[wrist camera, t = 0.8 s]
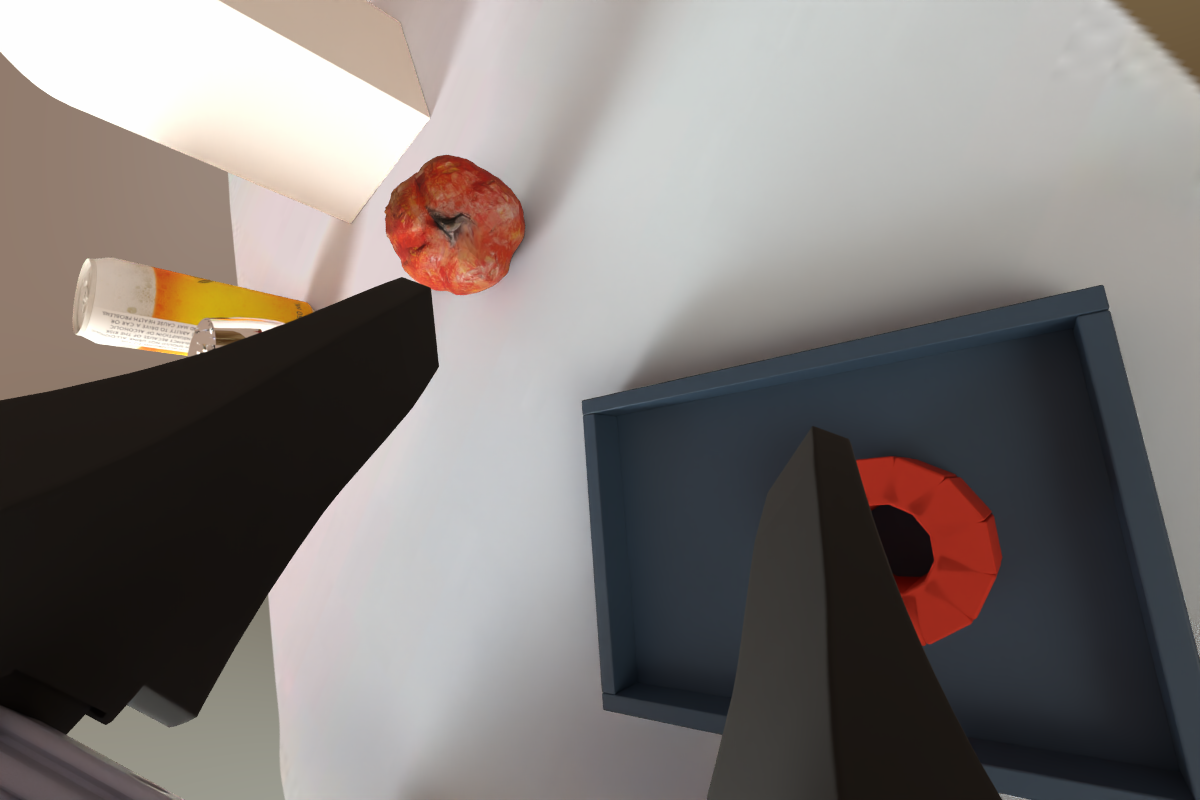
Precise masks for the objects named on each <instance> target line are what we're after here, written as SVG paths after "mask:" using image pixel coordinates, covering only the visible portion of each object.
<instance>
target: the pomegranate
mask: <svg viewBox="0 0 1200 800" xmlns="http://www.w3.org/2000/svg"><path fill="white" fill-rule="evenodd" d="M385 208H386V210H385V213H386V218H385V221H386V234H387V237H388V238H389V239H390V241H391V243H392V245H393V248H394V250H395V252H396V253H397V255H398V256H399V257H400V259H401V263H402V267H403V268H404V270H405V271H406V272H407V273H408V274H409V275H410V276H411V277H412V278H413V279H414V280H416V281H417V282H419V283H420V284H422V285H425V286H428V287H430V288H431V289H433V290H438V291H449V292H452V293H453V294H455V295H468V294H473V293H477V292H480V291H483V290H485V289H487V288H490V287H492V286H493V285H495V284H496V283H498V282H499V281H500V280H501V279H502V278H503V277H504V276H505V275H506V274H507V273H508V270H509V265H510V261H511V258H512V255H513V253H514V252H515V250H516V249H517V247H518V246H519V244H520V243H521V241H522V239H523V238H524V232H525V222H524V217H523V209H522V206H521V203H520V201H519V200H518V198H517V197H516V196H515V194H514V193H513V192H512V190H511V189H510V188H509V187H508V186H507V185H505V184H504V183H503V182H502V181H501V180H500V179H499V178H497V177H496V176H494V175H492V174H491V173H489V172H488V171H486V170H484V169H482V168H480V167H478V166H477V165H475V164H474V163H473V162H471V161H469V160H467V159H463V158H460V157H455V156H451V155H443V156H437V157H435V158H433V159H431V160H430V161H428V162H427V163H425V164H424V165H423V166H422V167H421V169H420V171H419V172H418V173H415V174H414V175H413V176H411V177H410V178H409V179H407V180H406V181H404V182H402V183H401V184H400V185H399V186H398V187H397V188H396V189H394V190H393V192H392V193H391V199H390V201H389V204H388V206H387V207H385Z"/></svg>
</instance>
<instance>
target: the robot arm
mask: <svg viewBox="0 0 1200 800" xmlns="http://www.w3.org/2000/svg"><path fill="white" fill-rule="evenodd" d="M438 367H439V363H438V353H437V343H436V334H435V324H434V315H433V305H432V295H431V288H430V287H428V286H425V285H422V284H419V283H417V282H414V281H411V280H408V279H406V278H403V277H401V278H398V279H395V280H393V281H390V282H387V283H384V284H382V285H379V286H377V287H374V288H372V289H369V290H367V291H364V292H362V293H359V294H357V295H354V296H352V297H350V298H347V299H345V300H342V301H340V302H337V303H335V304H333V305H330V306H328V307H325V308H323V309H320V310H318V311H315V312H313V313H310V314H308V315H305V316H303V317H300V318H298V319H295V320H293V321H290V322H288V323H285V324H283V325H280V326H277V327H274V328H272V329H269V330H266V331H263V332H260V333H258V334H255V335H252V336H249V337H247V338H244V339H241V340H238V341H235V342H233V343H230V344H227V345H224V346H222V347H219V348H215V349H212V350H209V351H206V352H203V353H200V354H197V355H193V356H190V357H187V358H184V359H180V360H177V361H173V362H169V363H166V364H162V365H159V366H155V367H152V368H148V369H144V370H141V371H137V372H133V373H129V374H124V375H120V376H116V377H111V378H107V379H103V380H98V381H94V382H89V383H85V384H81V385H76V386H72V387H67V388H63V389H58V390H54V391H49V392H44V393H39V394H33V395H28V396H22V397H17V398H11V399H6V400H0V800H184V799H182V798H181V797H179V796H177V795H175V794H173V793H171V792H170V791H168V790H166V789H164V788H162V787H160V786H159V785H157V784H155V783H153V782H151V781H149V780H148V779H146V778H144V777H142V776H140V775H139V774H137V773H135V772H133V771H131V770H129V769H128V768H126V767H124V766H122V765H120V764H118V763H117V762H115V761H113V760H111V759H109V758H107V757H106V756H104V755H102V754H100V753H98V752H96V751H95V750H93V749H91V748H89V747H87V746H85V745H83V744H82V743H80V742H78V741H76V740H74V739H73V738H71V737H69V736H67V735H66V734H67V733H68V732H69V731H70V730H71V729H72V728H73V727H74V726H75V725H76V724H77V723H78V722H79V721H80V719H81V718H82V717H83V716H84V715H85V714H86V715H88V716H90V717H92V718H93V719H95V720H97V721H99V722H101V723H103V724H105V725H106V724H108V723H110V722H112V721H113V720H114V718H115V717H116V716H117V715H118V714H119V713H120V712H121V711H122V710H123V708H124V707H125V706H126V705H128V706H129V707H132V708H133V709H135V710H137V711H139V712H141V713H143V714H145V715H147V716H149V717H150V718H152V719H154V720H156V721H158V722H160V723H162V724H164V725H166V726H167V727H173V726H177V725H180V724H183V723H185V722H188V721H190V720H192V719H194V718H195V717H197V716H198V714H199V712H200V710H201V708H202V706H203V704H204V702H205V700H206V699H207V697H208V695H209V693H210V691H211V690H212V688H213V686H214V684H215V683H216V681H217V679H218V677H219V675H220V674H221V672H222V670H223V668H224V667H225V664H226V663H227V661H228V659H229V658H230V656H231V654H232V652H233V651H234V649H235V647H236V645H237V644H238V642H239V640H240V639H241V637H242V636H243V634H244V632H245V631H246V629H247V627H248V626H249V624H250V622H251V621H252V619H253V618H254V616H255V614H256V613H257V611H258V609H259V608H260V606H261V605H262V603H263V601H264V600H265V598H266V596H267V595H268V593H269V592H270V590H271V589H272V587H273V586H274V584H275V583H276V581H277V580H278V578H279V577H280V575H281V574H282V572H283V571H284V569H285V568H286V566H287V564H288V563H289V561H290V560H291V558H292V557H293V555H294V554H295V552H296V551H297V550H298V548H299V547H300V545H301V544H302V542H303V541H304V540H305V538H306V537H307V535H308V534H309V532H310V531H311V530H312V528H313V527H314V525H315V524H316V522H317V521H318V520H319V518H320V517H321V515H322V514H323V512H324V511H325V510H326V509H327V507H328V506H329V505H330V504H331V502H332V501H333V500H334V499H335V497H336V496H337V495H338V494H339V492H340V491H341V490H342V489H343V488H344V487H345V485H346V484H347V483H348V482H349V481H350V480H351V479H352V477H353V476H354V475H355V474H356V473H357V472H358V470H359V469H360V468H361V467H362V466H363V465H364V464H365V462H366V461H367V460H368V459H369V458H370V457H371V456H372V454H373V453H374V452H375V451H376V450H377V449H378V448H379V446H380V445H381V444H382V443H383V442H384V441H385V440H386V438H387V437H388V436H389V435H390V434H391V433H392V431H393V430H394V429H395V428H396V427H397V425H398V424H399V423H400V422H401V421H402V420H403V418H404V417H405V416H406V415H407V414H408V412H409V411H410V410H411V409H412V408H413V406H414V405H415V403H416V402H417V400H418V399H419V397H420V396H421V394H422V393H423V391H424V390H425V388H426V387H427V385H428V383H429V382H430V380H431V379H432V377H433V375H434V374H435V372H436V371H437V369H438ZM707 800H1002V799H1001V797H1000V795H999V793H998V792H997V790H996V788H995V787H994V785H993V783H992V781H991V780H990V778H989V776H988V775H987V773H986V771H985V769H984V768H983V766H982V764H981V762H980V761H979V759H978V757H977V755H976V754H975V752H974V750H973V748H972V746H971V744H970V742H969V740H968V738H967V736H966V735H965V733H964V731H963V729H962V727H961V725H960V723H959V721H958V719H957V718H956V716H955V714H954V712H953V710H952V708H951V706H950V704H949V702H948V700H947V698H946V695H945V693H944V691H943V689H942V687H941V685H940V683H939V681H938V679H937V677H936V675H935V673H934V671H933V669H932V667H931V664H930V662H929V660H928V658H927V656H926V653H925V651H924V649H923V647H922V644H921V642H920V640H919V638H918V635H917V633H916V631H915V628H914V626H913V623H912V621H911V619H910V616H909V614H908V611H907V609H906V607H905V604H904V602H903V599H902V597H901V594H900V592H899V589H898V586H897V584H896V581H895V579H894V576H893V573H892V570H891V568H890V565H889V562H888V559H887V556H886V554H885V551H884V548H883V545H882V542H881V540H880V537H879V534H878V531H877V528H876V525H875V522H874V519H873V516H872V512H871V509H870V506H869V503H868V500H867V496H866V493H865V490H864V486H863V483H862V480H861V476H860V473H859V469H858V466H857V462H856V459H855V455H854V451H853V448H852V445H851V443H850V440H849V439H848V438H845V437H842V436H840V435H837V434H834V433H831V432H828V431H826V430H823V429H820V428H817V427H815V426H812V427H811V429H810V430H809V432H808V433H807V435H806V436H805V438H804V439H803V441H802V442H801V444H800V445H799V447H798V448H797V450H796V451H795V453H794V454H793V456H792V457H791V459H790V460H789V462H788V463H787V465H786V466H785V468H784V469H783V471H782V472H781V474H780V475H779V477H778V478H777V480H776V481H775V483H774V484H773V486H772V487H771V489H770V490H769V492H768V493H767V497H766V501H765V504H764V508H763V512H762V515H761V519H760V523H759V527H758V531H757V535H756V539H755V543H754V549H753V555H752V562H751V570H750V577H749V584H748V592H747V599H746V607H745V614H744V622H743V629H742V637H741V644H740V652H739V659H738V666H737V672H736V677H735V683H734V689H733V693H732V698H731V702H730V706H729V710H728V714H727V719H726V723H725V727H724V731H723V736H722V740H721V744H720V748H719V752H718V756H717V760H716V764H715V768H714V772H713V776H712V780H711V784H710V788H709V792H708V796H707Z"/></svg>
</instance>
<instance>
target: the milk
mask: <svg viewBox="0 0 1200 800" xmlns="http://www.w3.org/2000/svg"><path fill="white" fill-rule="evenodd" d="M0 52H1V53H2V54H3V55H4V56H5V57H6V58H7V59H8V60H9V61H10V62H11V63H12V64H13V65H14V66H15V67H16V68H17V69H18V70H19V71H20V72H21V73H22V74H23V75H24V76H25V77H27V78H28V79H29V80H30V81H31V82H33V83H34V84H35V85H36V86H37V87H39V88H40V89H42V90H43V91H45V92H46V93H48V94H49V95H51V96H52V97H54V98H56V99H58V100H60V101H62V102H64V103H66V104H68V105H70V106H73V107H75V108H77V109H80V110H82V111H84V112H87V113H89V114H91V115H94V116H96V117H99V118H101V119H103V120H106V121H108V122H111V123H113V124H115V125H117V126H120V127H122V128H125V129H127V130H129V131H132V132H134V133H137V134H139V135H141V136H144V137H146V138H148V139H151V140H153V141H155V142H158V143H160V144H163V145H165V146H167V147H170V148H172V149H174V150H177V151H179V152H182V153H184V154H186V155H189V156H191V157H194V158H196V159H198V160H200V161H203V162H205V163H208V164H210V165H213V166H215V167H217V168H220V169H222V170H225V171H227V172H229V173H231V174H234V175H236V176H238V177H241V178H243V179H246V180H248V181H250V182H253V183H255V184H257V185H260V186H262V187H265V188H267V189H269V190H272V191H274V192H276V193H279V194H281V195H283V196H286V197H288V198H291V199H293V200H295V201H298V202H300V203H302V204H305V205H307V206H310V207H312V208H314V209H317V210H319V211H321V212H324V213H326V214H329V215H331V216H333V217H336V218H338V219H340V220H343V221H345V222H348V223H350V224H351V223H352V221H353V220H354V219H355V217H356V216H357V215H358V213H359V212H360V211H361V209H362V208H363V207H364V206H365V204H366V203H367V202H368V200H369V199H370V198H371V196H372V195H373V194H374V192H375V191H376V190H377V188H378V187H379V186H380V184H381V183H382V182H383V180H384V179H385V178H386V176H387V175H388V174H389V172H390V171H391V170H392V168H393V167H394V166H395V164H396V163H397V162H398V160H399V159H400V158H401V156H402V155H403V154H404V152H405V151H406V150H407V148H408V147H409V146H410V145H411V143H412V142H413V141H414V139H415V138H416V137H417V135H418V134H419V133H420V131H421V130H422V129H423V127H424V126H425V125H426V123H427V122H428V121H429V119H430V115H429V112H428V109H427V106H426V103H425V99H424V96H423V93H422V90H421V87H420V84H419V80H418V77H417V74H416V71H415V68H414V65H413V62H412V58H411V55H410V52H409V49H408V46H407V43H406V40H405V36H404V33H403V30H402V27H401V24H400V22H399V21H397V20H396V19H394V18H393V17H391V16H390V15H388V14H386V13H385V12H383V11H382V10H380V9H379V8H377V7H375V6H374V5H372V4H371V3H369V2H368V1H366V0H0Z"/></svg>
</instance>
